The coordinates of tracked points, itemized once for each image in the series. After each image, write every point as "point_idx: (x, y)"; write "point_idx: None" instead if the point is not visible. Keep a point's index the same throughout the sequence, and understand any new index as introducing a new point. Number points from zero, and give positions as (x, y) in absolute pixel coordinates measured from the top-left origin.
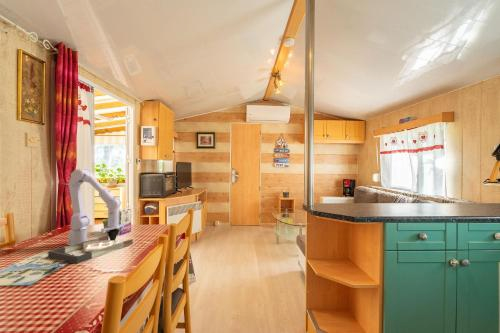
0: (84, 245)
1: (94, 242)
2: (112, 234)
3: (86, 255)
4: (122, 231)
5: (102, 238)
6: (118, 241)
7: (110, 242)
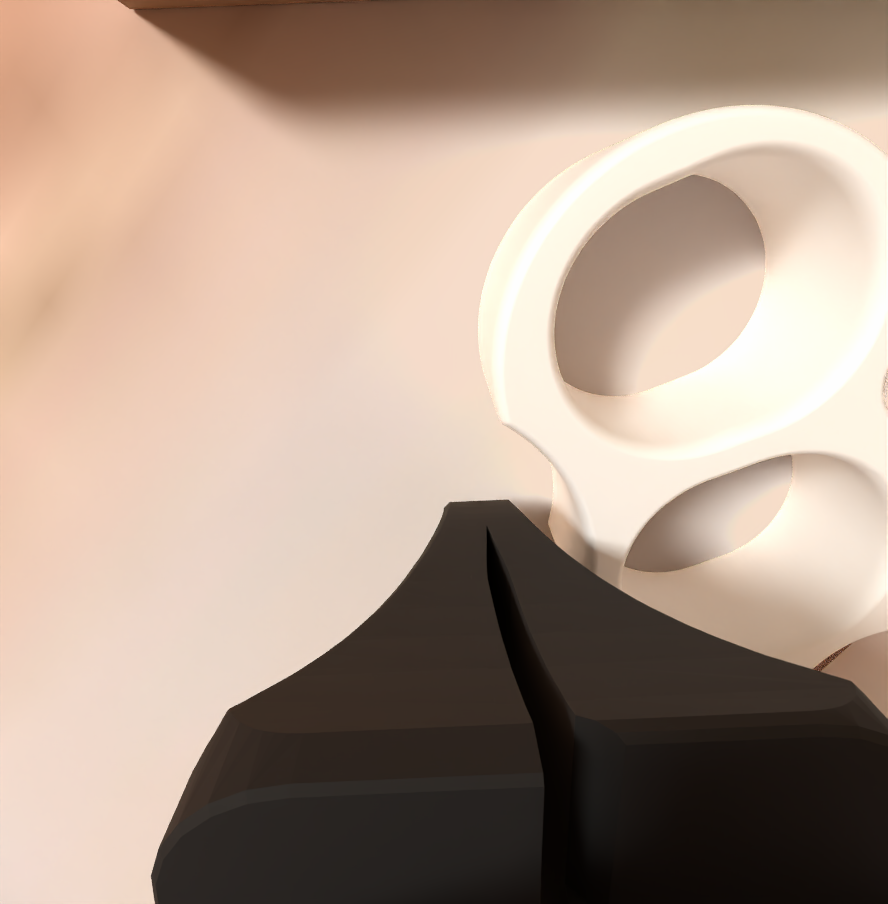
0: None
1: None
2: (728, 658)
3: None
4: None
5: None
6: (591, 196)
7: (740, 422)
